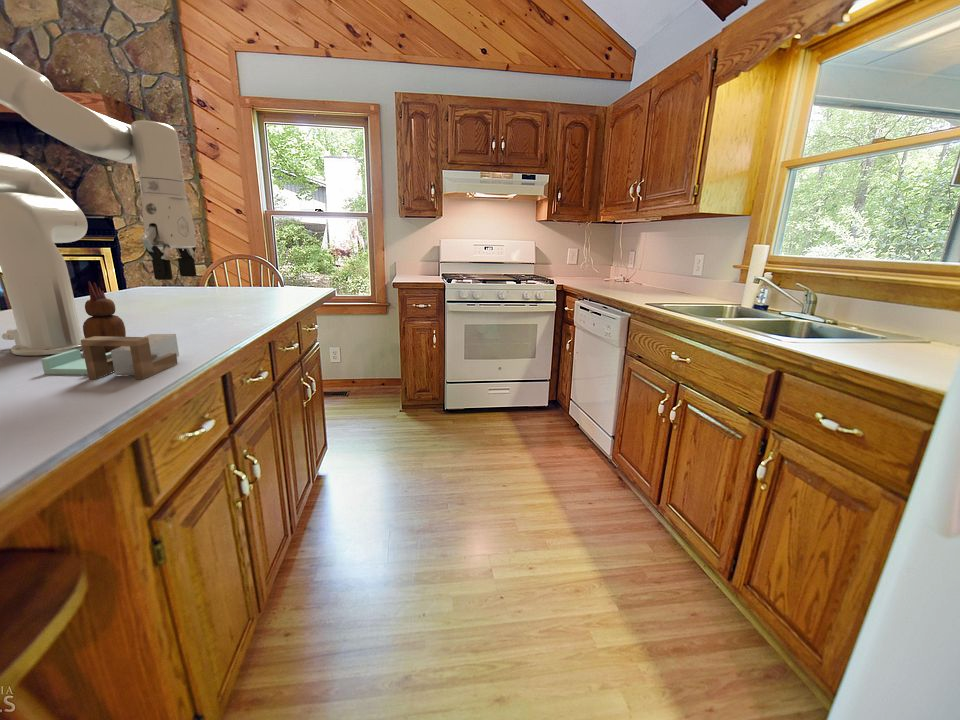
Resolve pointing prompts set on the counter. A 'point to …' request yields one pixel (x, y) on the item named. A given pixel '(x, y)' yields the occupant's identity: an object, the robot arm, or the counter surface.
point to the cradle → (66, 363)
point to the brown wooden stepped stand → (139, 352)
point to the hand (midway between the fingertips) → (176, 277)
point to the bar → (158, 348)
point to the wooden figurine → (102, 317)
